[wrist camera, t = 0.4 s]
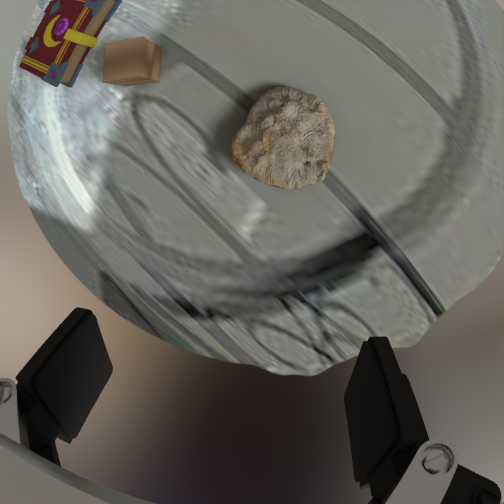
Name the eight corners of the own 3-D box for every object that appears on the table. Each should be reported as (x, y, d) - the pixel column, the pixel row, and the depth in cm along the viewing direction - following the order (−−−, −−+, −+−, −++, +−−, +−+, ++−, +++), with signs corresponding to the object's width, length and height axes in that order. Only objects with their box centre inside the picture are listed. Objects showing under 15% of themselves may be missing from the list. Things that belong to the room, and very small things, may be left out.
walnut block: (128, 52, 30) (105, 44, 24) (162, 47, 29) (142, 36, 24) (126, 86, 32) (102, 82, 26) (159, 81, 31) (139, 75, 26)
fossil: (266, 74, 30) (337, 82, 24) (300, 112, 37) (363, 129, 30) (213, 155, 31) (275, 182, 25) (255, 184, 38) (315, 214, 32)
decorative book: (35, 68, 30) (15, 67, 26) (82, -15, 24) (64, -24, 19) (73, 87, 32) (52, 86, 27) (128, -5, 26) (111, -16, 21)
